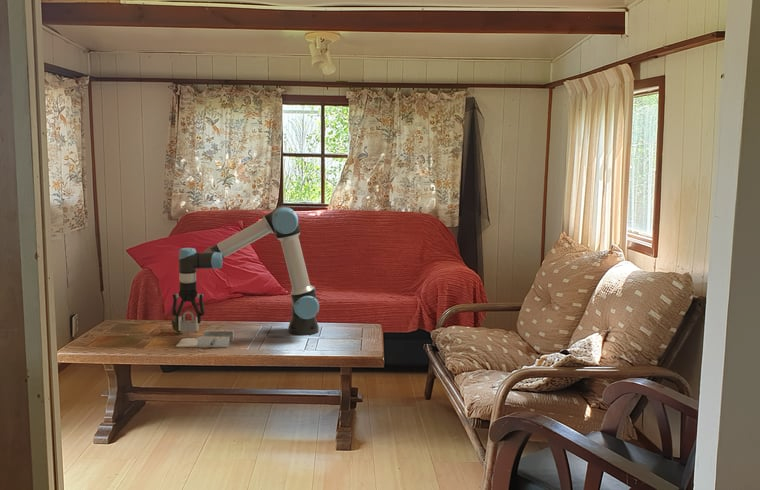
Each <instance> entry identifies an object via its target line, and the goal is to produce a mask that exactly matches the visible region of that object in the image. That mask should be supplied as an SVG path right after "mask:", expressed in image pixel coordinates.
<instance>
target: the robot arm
mask: <svg viewBox="0 0 760 490" xmlns="http://www.w3.org/2000/svg"><path fill="white" fill-rule="evenodd" d="M301 232H302V231H301V229H300V225H299V217H298V213H296V211H294V209H293V208H291V207H290V206H287V205H280V206H277V207H275V208H274V209H272V211H270V212H268V213H266V214H264V215H263V218H262V219H260V220H258V221H257V222H255V223H252V224H251V225H250V226H247V227H246V228H244V229H242V230H240V231H238V232H236V233H235V234H233V235H231V236H229V237H227V238H225V239H224V240H221V241H220V242H218V243H216V244H215V245H212V246H211V247H208V248H206V249H205V250H204V251H203V252H197V250H196V248H193V247H182V248H180V249H179V251H178V270H179V272H178V273H179V292H178V293H172V294H173V295H172V298H173V300H172V301H173V302H172V303H173V304H172V313H171V315H172V316H174V317H175V318H176V322H177V323H179V331H180V330H181V329H180V323H181V322H182V317H183V315H181V313H182V310H183V308H184V304H185V303H186V302H189V303H191V304H192V307H193V309H194V312H195V313H196V316H195V321H196V331H197V332H198V331H199V329H200V325H199V324H201V322H202V320H201V319H202V317H203V316H204V315H205V314H206V311H205V304H204V299H203V298H204V293H198V290H197V282H196V281H197V270H198V269H204V270H206V269H208V270H209V269H210V270H212V269H214V270H215V269H222V268H223V259H225V258H227V257H229V256H230V255H232V254H234V253H235V252H237V251H239V250H242V249H243V248H244V247H247V246H248V245H250V244H252V243H255V242H256V241H258V240H260V239H262V238H263V237H265V236H267V235H268V234H275V238H276V239H277V240H278V241H280V243H281V249H282V251H283V256H284V260H285V265H286V267H287V268H286V269H287V272H288V276H289V280H290V285H291V292H290V297H291V317H290V318H291V319H290V321H289V324H288V326H287V327H288V329H287V330H288V333H289V334H291V335H295V336H296V335H297V336H310V335H314V334H318V333H319V332H320V330H319V328H320V327H319V324H318V320H317V318H316V316H317V315H318V313H319V311H320V303H319V300H318V298H317V294H316V287H315V286H314V285H312V284H311V283H310V282H311V281H310V278H309V274H308V270H307V266H306V261H305V258H304V254H303V249H302V246H301V242H300V239H299V238H300V237H299V236H300V234H301ZM196 297H197V298H198V302H199V306H198V304H197V300H196ZM178 298H180V299H181V301H180V304H179V306H178ZM177 307H178V308H177Z"/></svg>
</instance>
